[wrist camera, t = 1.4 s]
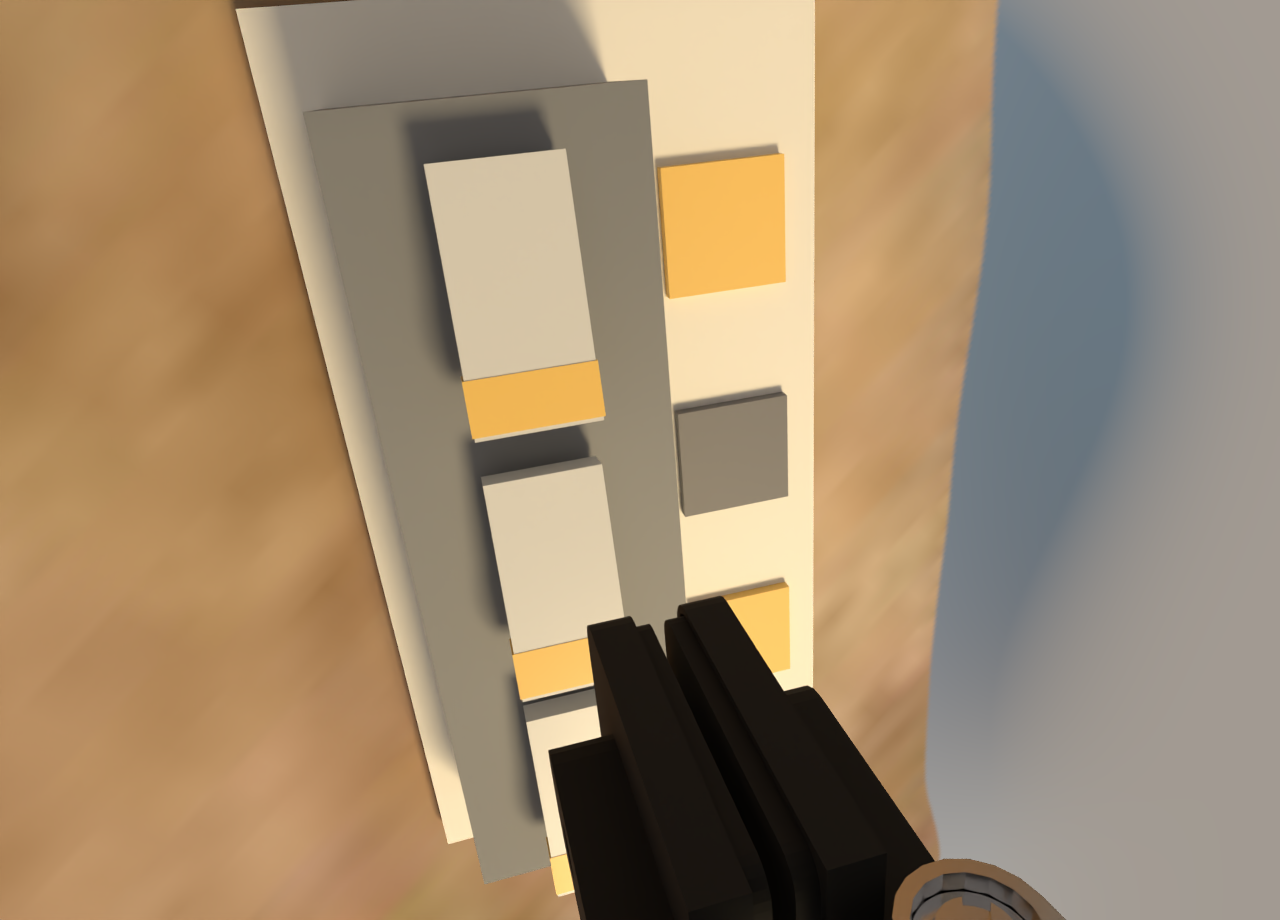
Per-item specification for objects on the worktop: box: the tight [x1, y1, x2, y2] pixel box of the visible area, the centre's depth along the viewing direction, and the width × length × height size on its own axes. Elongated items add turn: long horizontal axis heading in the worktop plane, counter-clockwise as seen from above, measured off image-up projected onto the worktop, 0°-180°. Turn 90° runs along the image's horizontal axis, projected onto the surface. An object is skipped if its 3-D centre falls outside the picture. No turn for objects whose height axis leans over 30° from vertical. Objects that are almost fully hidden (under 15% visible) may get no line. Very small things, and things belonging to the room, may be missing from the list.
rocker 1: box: [424, 149, 606, 443], centre depth 20 cm, size 6×3×1 cm, turn 5°
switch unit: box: [236, 0, 815, 884], centre depth 28 cm, size 30×16×6 cm, turn 5°
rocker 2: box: [523, 689, 601, 897], centre depth 27 cm, size 6×3×1 cm, turn 5°
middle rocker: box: [481, 456, 624, 702], centre depth 23 cm, size 6×3×1 cm, turn 5°
